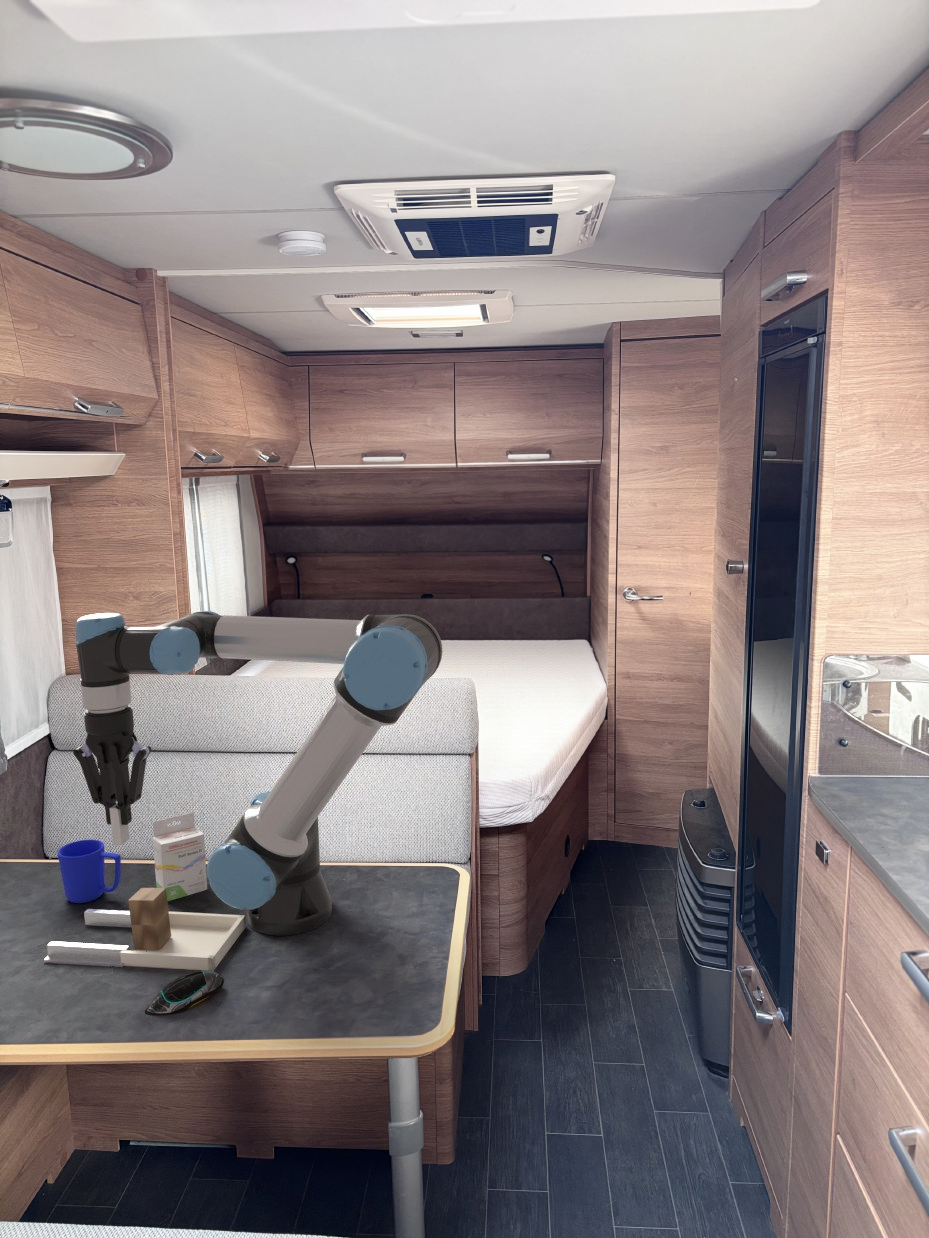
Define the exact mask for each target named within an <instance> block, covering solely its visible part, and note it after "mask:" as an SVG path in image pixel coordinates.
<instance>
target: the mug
mask: <svg viewBox="0 0 929 1238" xmlns="http://www.w3.org/2000/svg"><path fill="white" fill-rule="evenodd" d="M107 858H108V859H113V860H114V882H113V886H107V885H106V884H105V859H107ZM57 859H58V864H59V869H60V873H61V879H62V884H63V888H64V893H65V897H66V899H67V900H68V901H69V902H71V903H74V904H83V903H88V902H89V903H90V902H92V901H94V900H97V899H99V898H100V897H101V896H102V895H103V893H112V892H114V891H115V890H116V889H117V888H118V887H119V884H120V882H121V881H120V880H121V875H122V874H121V871H122V870H121V869H122V865H121V864H122V858H121V854H119V853H115V852H105V843H104V842H103V841H101V840H99V839H82V840H81V839H80V840H75V841H72V842H69V843H67V844H65V845H63V846H62V847H60V848H59V849H58V851H57Z"/></svg>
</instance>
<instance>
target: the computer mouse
mask: <svg viewBox="0 0 929 1238" xmlns="http://www.w3.org/2000/svg"><path fill="white" fill-rule="evenodd" d="M224 983H225V978H224V977H222V976H221V974H219V973H217V972H216V971H211V970H192V971H190V972H187V973H184V974H183V975H180V976H178V977H176V978H175V979H173V980H171V981H170V982H169V983H168V984H166V985H165V986H164V987H163V988H162V989H161V990H160V991H159V992H158V994H156V996H155V997H154V998H153V1000H151V1003H150V1005H149V1006H148V1007H147V1008H146V1009H145V1011H144V1014H146V1015H150V1016H170V1015H177V1014H182V1013H183V1012H185V1011H187V1010H188V1009H191V1008H193V1007H195V1006H196V1005H198V1004H199V1003H200V1002H202V1001H205V1000H206V999H208V998H209V997H211V996H213V995H215V994H216V993H218V992H219V991H220V990H221V989H222V988H223V987H224Z"/></svg>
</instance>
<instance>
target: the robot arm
mask: <svg viewBox="0 0 929 1238" xmlns="http://www.w3.org/2000/svg"><path fill="white" fill-rule="evenodd" d="M75 639H76V640H75V647H76V652H77V653H76V654H77V659H78V667H79V675H80V688H81V689H80V690H81V701H82V708H84V709H85V711H84V712H83V719H84V729H85V732H86V735H87V736H86V738H85V742H84V744H82V745H81V746H78V747H77V748H75V749H74V750H72V754H73V756H74V757H75V758H76V760H78V762H79V764H80V767H81V770H82V773H83V776H84V779H85V782H86V785H87V787H88V790H89V791H88V792H89V794H90V796H91V800H92V802H93V803H94V804H100V805H102V806H103V807H104V810H105V811H104V812H105V818H106V819H105V820H106V823H107V825H109V826H111V827H110V829H111V837H112V844H113V846H123V844H125V843H127V842H128V841H129V840H130V829H129V824H130V823H131V822H132V820H133V815H132V805H133V804H134V803H136V802H137V801H139V800H141V798H142V793H143V788H144V780H145V779H144V778H145V774H146V767H147V766H146V765H147V759H148V757H149V756H150V753H151V752H152V747H151V746H149V745H145V746H144V745H143V744H141V743H140V742H138V738H137V736H136V734H135V732H134V729H135V720H134V719H135V718H134V708H133V706H132V705H130V704H131V703H132V702H133V701H132V692H131V679H130V674H156V675H157V674H158V675H159V674H160V675H167V676H170V675H171V676H172V675H175V674H188V673H190V672H191V671H193V670H194V669H195V667H196V666H195V665H197V664H198V662H199V659H200V658H201V659H203V658H210V659H231V660H232V659H233V660H234V659H235V660H236V659H237V660H253V661H254V660H255V661H274V662H293V663H295V662H296V663H311V664H312V663H314V664H316V663H317V664H331V665H332V664H336V665H343V666H342V668H341V669H340V671H339V672H338V674H337V676H336V677H335V679H333V685H332V686H333V688H334V693H335V696H334V697H333V699H332V700H331V702H330V703H329V705H328V706H327V707H326V709H325V711H324V712H323V714H321V717H320V718H319V719H318V721H317V723H316V724H315V726H313V728H312V730H311V731H310V733H309V734H308V736H307V737H306V738H305V741H304V742H303V743H302V745H300V748H299V749H298V750H297V752H296V753H295V755H294V756H293V758H292V759H291V761H290V762H289V764H288V765H287V767H286V768H285V770H284V771H283V773H282V774H281V776H280V777H279V779H278V780H277V782H276V783H275V784H274V785H273V788H272V789H271V790H270V791H266V792H265V791H264V792H261V793H259V794H256V795H254V796H253V797H252V798H251V800H250V805H249V807H248V808H247V809H246V810H245V812H244V813H243V815H242V816H241V818H240V819H239V821H238V823H237V824H236V825H235V827H234V828H233V829H232V831H231V832H230V834H229V836H228V837H227V838H226V839H225V841H223V843H221V844H220V845H218V846H217V847H216V848H214V850H213V852H212V853H211V855H210V857H209V859H208V861H207V864H206V875H207V879H208V881H209V886H210V888H211V890H212V892H213V893H214V894H215V895H216V896H217V898H218V899H219V900H220V901H222V902H223V903H225V904H226V905H228V906H230V907H231V908H234V909H237V910H242V911H243V910H246V914H247V923H248V925H249V926H250V929H252V930H254V931H256V932H257V933H261V934H264V935H268V936H283V937H284V936H293V935H299V934H302V933H306V932H309V931H312V930H314V929H317V928H319V927H320V926H322V925H323V924H324V923H326V922H327V921H328V920H329V918H330V917H331V916H332V912H333V911H332V910H333V908H332V907H333V905H332V904H333V903H332V897H331V894H330V892H329V890H328V887H327V883H326V882H325V879H324V877H323V875H322V871H321V858H320V857H321V856H320V836H319V835H320V833H319V816H320V814H321V813H322V811H323V810H324V808H325V807H326V805H327V804H328V803H329V802H330V800H331V799H332V797H333V796H334V795H335V793H336V791H337V790H338V789H339V788H340V786H341V785H342V783H343V782H344V780H345V779H346V778H347V776H348V774H349V773H350V772H351V770H352V768H353V767H354V766H355V764H356V763H357V762H358V761H359V759H360V757H362V756H363V753H364V751H366V749H367V747H369V744H370V743H371V742H372V740H373V739H374V738H375V736H376V734H377V733H378V732H379V730H380V729H381V727H385V726H391V725H392V726H393V725H395V724H396V723H397V722H398V720H399V719H400V717H401V716H402V714H403V713H404V712H405V711H406V709H407V708H408V706H409V705H410V703H411V702H412V701H413V699H414V698H415V696H416V695H417V694H418V692H419V691H420V689H422V687H423V686H424V685H425V683H426V682H427V681H428V680H429V679H431V678H432V677H433V675H434V674H435V673H436V672H437V669H438V668H439V666H440V664H441V661H442V657H443V643H442V640H441V637H440V634H439V633H438V631H437V629H436V628H435V627H434V626H433V625H432V624H431V623H430V622H429V621H428V620H426V619H425V618H423V617H421V616H418V615H414V614H410V613H409V614H405V613H403V614H402V613H401V614H367V615H365V616H364V617H363V618H362V619H359V620H358V619H336V618H335V619H334V618H333V619H331V618H329V619H328V618H306V617H305V618H304V617H281V616H280V617H277V616H252V615H251V616H248V615H226V614H225V615H224V614H223V615H220V614H218V613H217V612H214V611H213V610H212V611H211V610H203V611H195V612H192V613H190V614H188V615H186V616H183V617H181V618H178V619H177V618H176V619H175V620H172V621H168V622H165V623H163V624H160V625H159V624H158V625H155V626H137V627H136V626H135V627H134V626H127V625H126V622H125V618H124V616H123V615H122V614H120V613H115V612H103V613H100V612H99V613H94V614H88V615H84V616H81V617H79V618H78V619H77V620H76V623H75ZM132 752H133V753H132ZM131 753H132V757H133V761H132V763H131V764H132V765H131V773H130V770H129V764H130V754H131ZM95 757H96V758H95Z"/></svg>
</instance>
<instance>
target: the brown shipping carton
mask: <svg viewBox="0 0 929 1238" xmlns="http://www.w3.org/2000/svg"><path fill="white" fill-rule="evenodd" d="M127 900H128V901H127V902H128V907H129V910H128V911H130V917H131V925H157V924H158V923H159V922H160V921H161V920H162V919H163V918H164V917H165V916H166V915H167V913H168V912H169V904H168V901H167V894H166V888H156V887H141V888H139V890H138V891H137V892H135V893H134V894H133V895H132V896H131V897H130V898H129V899H127Z"/></svg>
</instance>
